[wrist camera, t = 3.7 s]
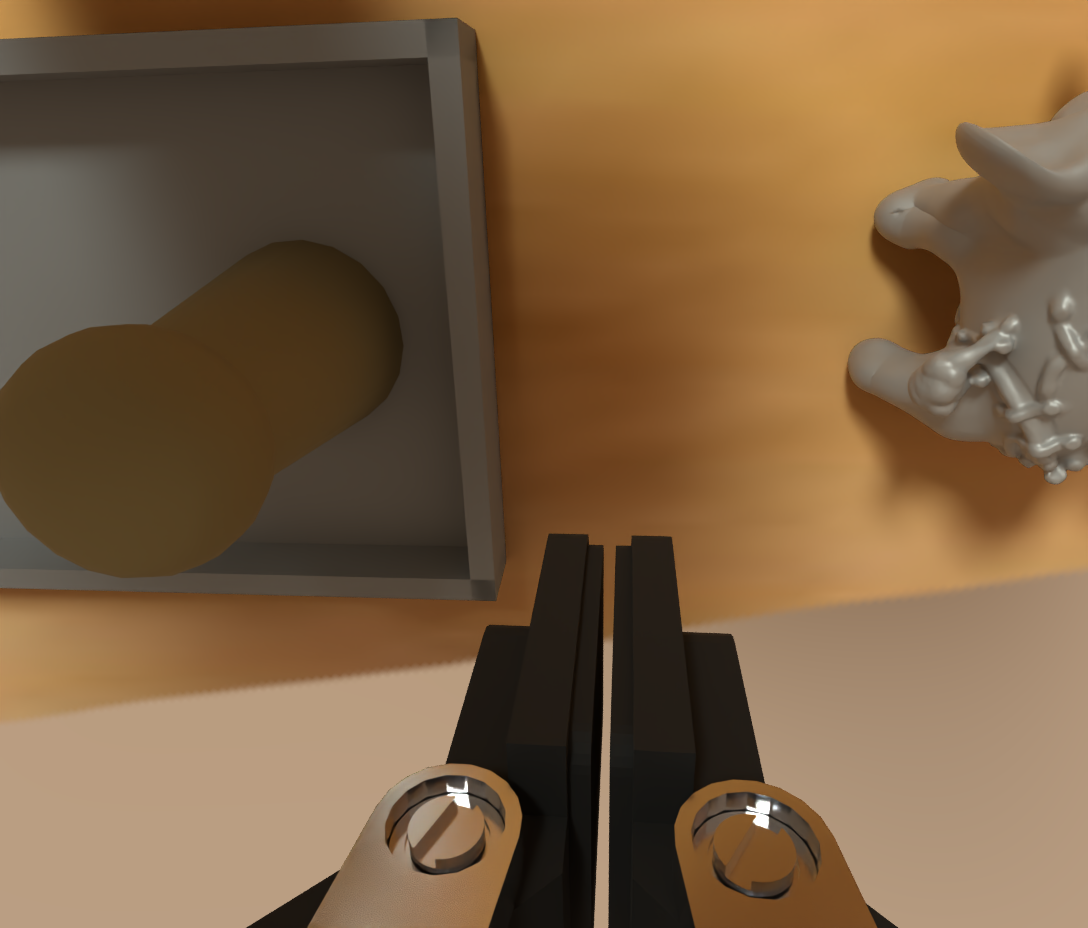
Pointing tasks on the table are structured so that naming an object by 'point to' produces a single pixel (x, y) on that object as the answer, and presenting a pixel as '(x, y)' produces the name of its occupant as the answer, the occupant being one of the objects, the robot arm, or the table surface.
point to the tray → (249, 224)
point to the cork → (193, 410)
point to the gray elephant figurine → (1001, 295)
